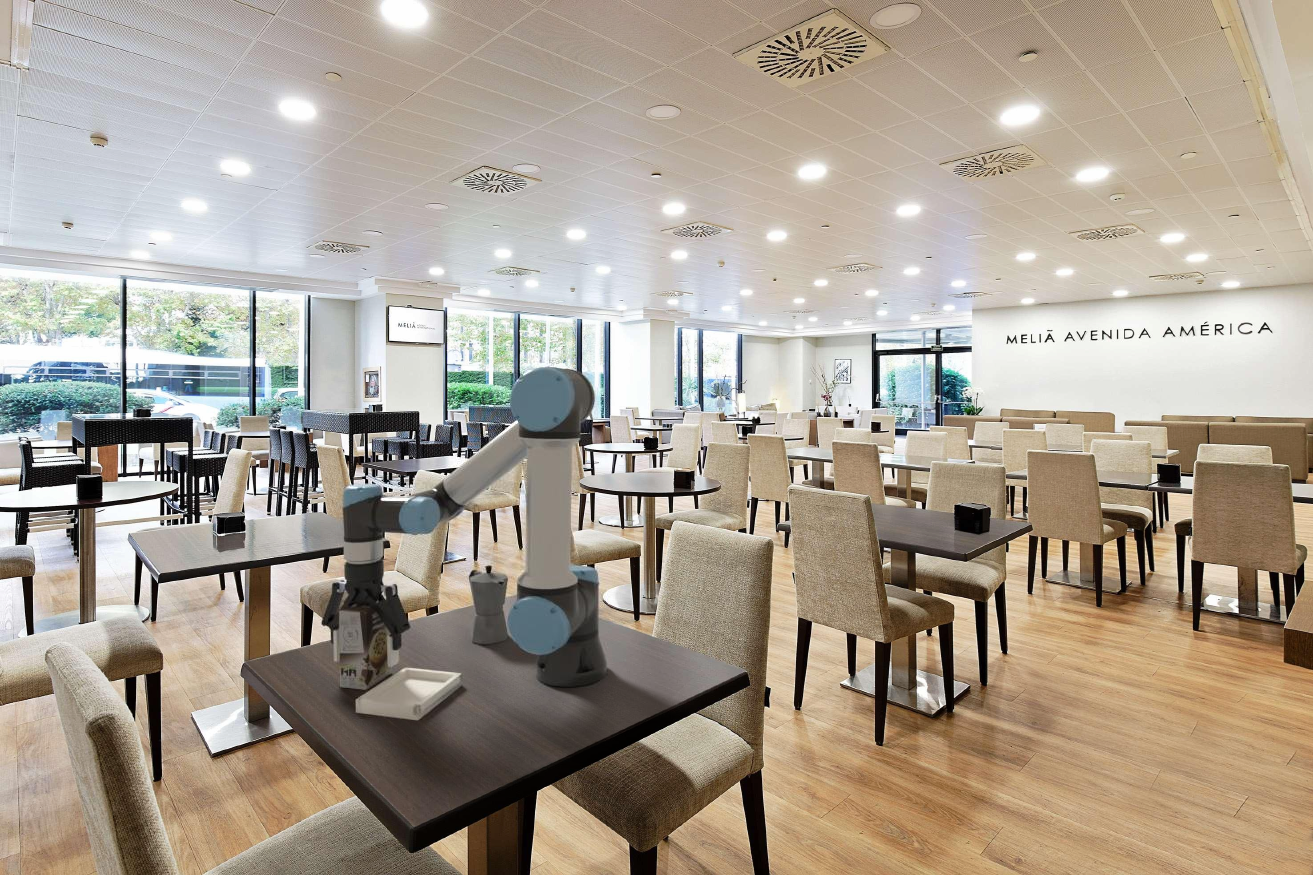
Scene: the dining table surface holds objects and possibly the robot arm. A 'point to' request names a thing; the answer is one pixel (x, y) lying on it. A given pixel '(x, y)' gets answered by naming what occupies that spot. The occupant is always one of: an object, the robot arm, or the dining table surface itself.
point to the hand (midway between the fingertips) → (366, 662)
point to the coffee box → (362, 647)
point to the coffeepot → (488, 606)
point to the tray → (409, 693)
